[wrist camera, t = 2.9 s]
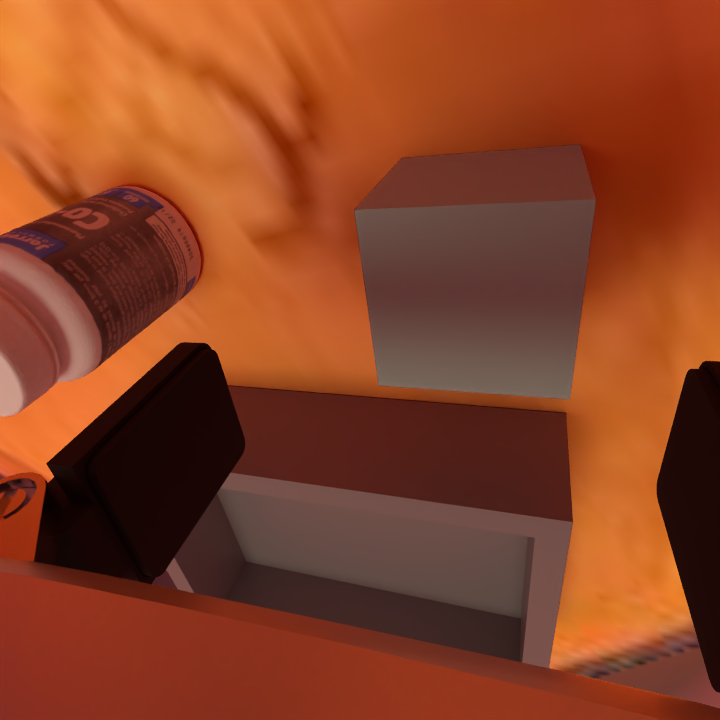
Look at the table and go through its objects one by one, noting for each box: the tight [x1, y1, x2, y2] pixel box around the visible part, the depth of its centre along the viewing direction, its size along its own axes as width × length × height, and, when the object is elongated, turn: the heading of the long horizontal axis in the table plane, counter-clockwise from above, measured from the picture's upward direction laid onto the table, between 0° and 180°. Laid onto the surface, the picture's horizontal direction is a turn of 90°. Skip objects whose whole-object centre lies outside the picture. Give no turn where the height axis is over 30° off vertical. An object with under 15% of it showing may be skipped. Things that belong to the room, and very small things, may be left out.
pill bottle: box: [0, 186, 201, 416], centre depth 16 cm, size 5×5×8 cm
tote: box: [166, 386, 573, 668], centre depth 23 cm, size 18×14×5 cm
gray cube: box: [354, 144, 596, 399], centre depth 14 cm, size 5×5×5 cm
